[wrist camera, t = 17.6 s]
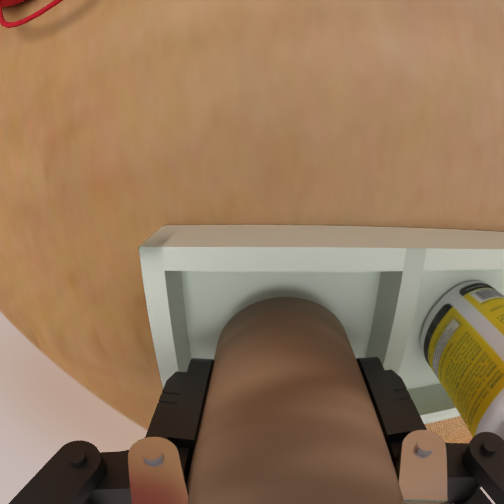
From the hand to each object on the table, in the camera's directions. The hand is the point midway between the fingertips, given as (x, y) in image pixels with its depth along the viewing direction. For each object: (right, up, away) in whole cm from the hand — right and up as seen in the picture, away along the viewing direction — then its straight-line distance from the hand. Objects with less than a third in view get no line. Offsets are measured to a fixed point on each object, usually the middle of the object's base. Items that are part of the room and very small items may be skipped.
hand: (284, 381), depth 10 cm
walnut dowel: (0, 0, +1) cm, 1 cm away
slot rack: (+4, +1, +3) cm, 6 cm away
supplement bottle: (+9, +1, +3) cm, 9 cm away
